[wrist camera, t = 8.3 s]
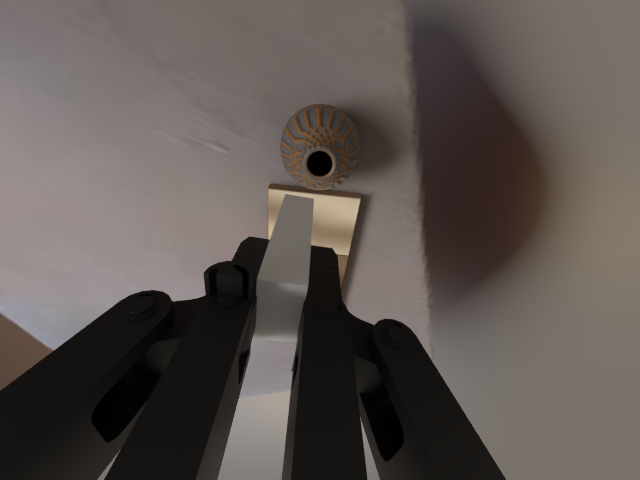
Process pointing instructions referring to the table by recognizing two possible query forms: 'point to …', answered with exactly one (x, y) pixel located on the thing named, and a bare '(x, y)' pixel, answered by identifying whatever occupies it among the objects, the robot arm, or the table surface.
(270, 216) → the board
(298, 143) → the vase
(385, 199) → the table surface
